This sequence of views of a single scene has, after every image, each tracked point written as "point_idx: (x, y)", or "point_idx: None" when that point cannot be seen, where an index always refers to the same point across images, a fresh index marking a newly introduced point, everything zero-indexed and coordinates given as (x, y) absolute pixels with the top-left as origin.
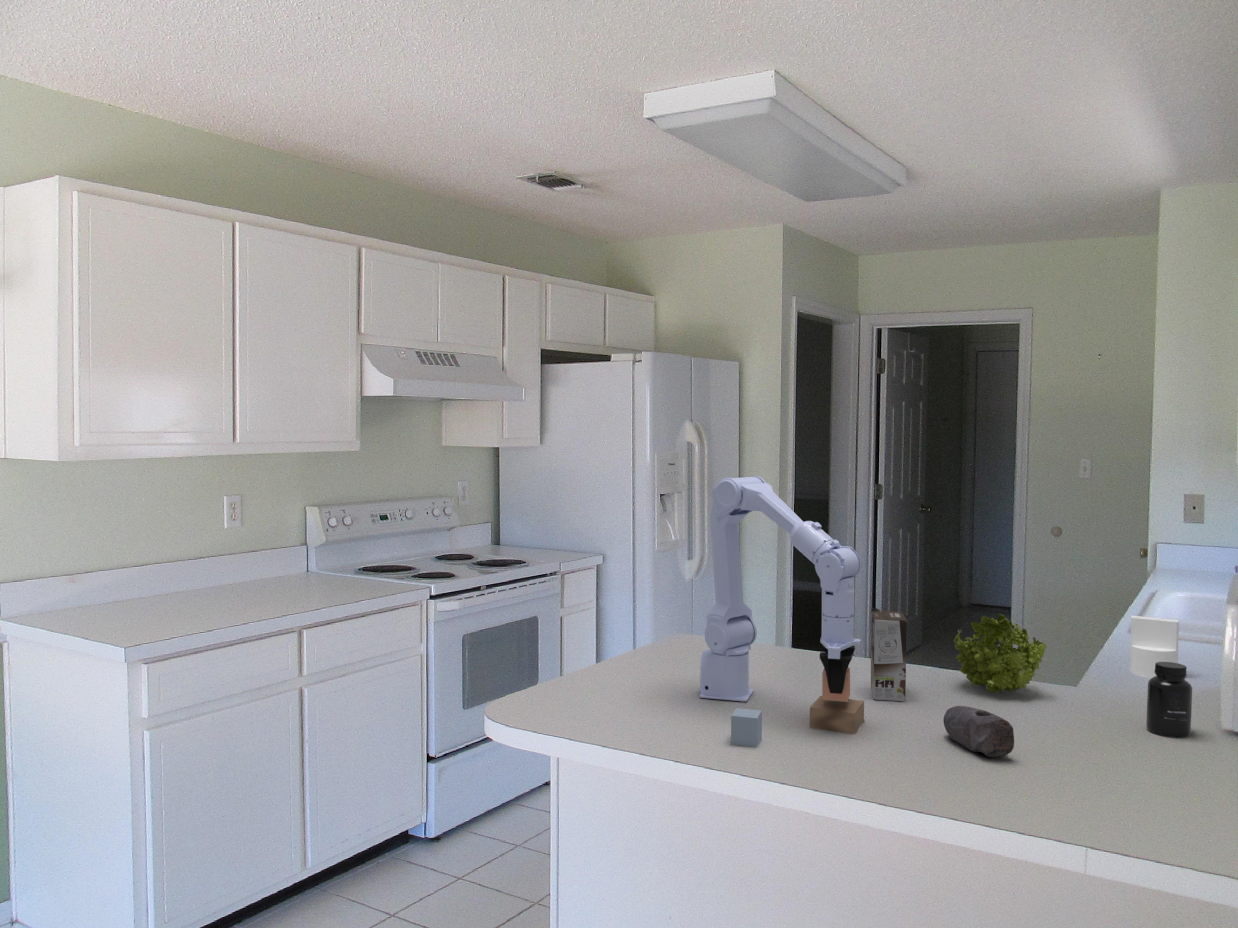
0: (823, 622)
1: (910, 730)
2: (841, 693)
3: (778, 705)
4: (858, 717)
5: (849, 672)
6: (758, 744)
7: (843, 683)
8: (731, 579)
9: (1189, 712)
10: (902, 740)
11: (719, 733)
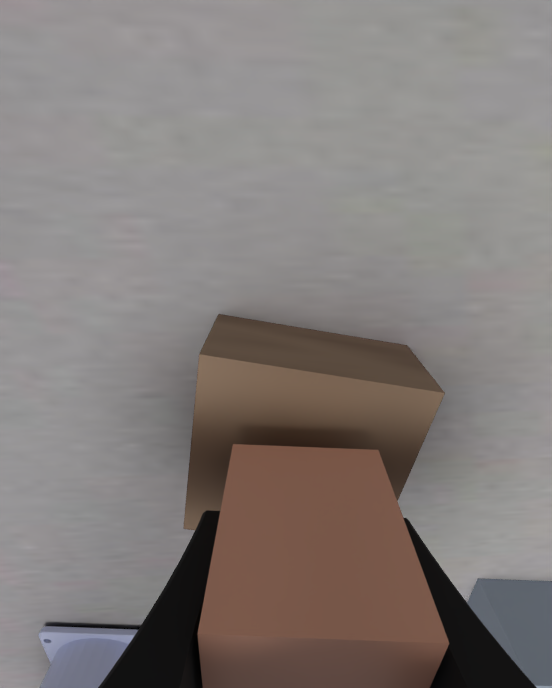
0: None
1: (311, 68)
2: (406, 519)
3: (148, 566)
4: (341, 354)
5: (277, 606)
6: (532, 581)
7: (451, 582)
8: None
9: None
10: (489, 121)
11: None
